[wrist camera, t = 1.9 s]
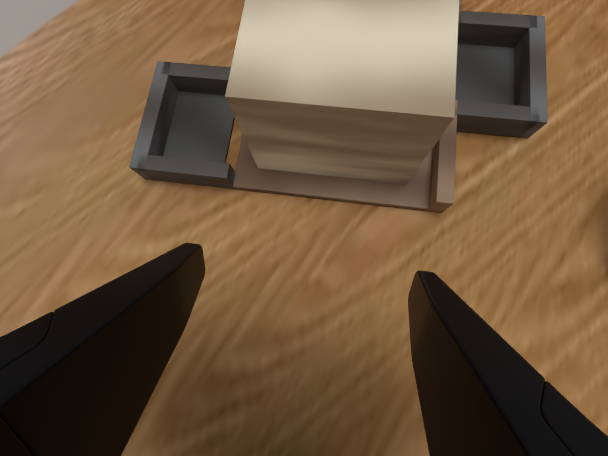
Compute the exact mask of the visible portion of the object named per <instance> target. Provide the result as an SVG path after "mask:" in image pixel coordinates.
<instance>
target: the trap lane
mask: <svg viewBox="0 0 608 456" xmlns="http://www.w3.org/2000/svg"><path fill="white" fill-rule="evenodd" d="M461 5H462V0H459V18H458V42H457V66H456V91H455V115H454V119H453V120H452V122H451V123H450V124H449V126H448V127H447V129H446V130H445V131H444V133H443V134H442V136H441V137H440V138H439V140H438V141H437V143H436V144H435V145H434V147H433V148H432V150H431V151H430V152H429V154H428V155H427V157H426V158H425V159H424V161H423V162H422V164H421V165H420V166H419V168H418V169H417V171H416V172H415V173H414V175H413V176H412V178H411V179H410V180H409V182H408V183H407V184H399V183H390V182H381V181H371V180H362V179H353V178H344V177H335V176H325V175H316V174H307V173H298V172H289V171H279V170H270V169H261V168H258V167H257V165H256V162H255V160H254V158H253V156H252V154H251V152H250V150H249V147H248V145H247V143H246V141H245V139H244V137H243V136H242V141H241V147H240V152H239V157H238V162H237V167H236V172H235V171H234V170H233V168H232V167H231V165H230V164H229V163H226V158H227V153H228V148H229V143H230V138H231V133H232V129H233V124H234V119H235V117H234V115H233V113H232V111H231V109H230V106H229V104H228V102H227V100H226V98H225V94H226V89H227V84H228V80H229V75H230V70H231V67H219V66H207V65H195V64H184V63H172V62H160V61H158V62H157V66H156V69H155V73H154V77H153V81H152V84H151V88H150V92H149V95H148V99H147V103H146V107H145V110H144V114H143V118H142V121H141V125H140V129H139V133H138V136H137V140H136V144H135V147H134V151H133V155H132V159H131V162H130V166H129V168H131V169H132V170H134V171H135V172H137V173H138V174H139V175H141V176H142V177H144V178H145V179H152V180H161V181H170V182H178V183H187V184H196V185H205V186H213V187H222V188H231V189H240V190H248V191H257V192H266V193H275V194H283V195H292V196H301V197H309V198H318V199H327V200H336V201H344V202H353V203H362V204H371V205H379V206H388V207H397V208H405V209H414V210H423V211H432V212H440V213H442V212H443V211H445V210H446V209H447V208H449V207H450V206H451V205H453V204H454V182H455V157H456V131H459V132H469V133H480V134H490V135H501V136H511V137H522V138H529V137H530V136H531V135H532V134H534V133H535V132H536V131H537V130H539V129H540V128H541V127H542V126H544V125H545V124H546V123H547V84H546V47H545V16H532V15H517V14H503V13H488V12H473V11H461Z"/></svg>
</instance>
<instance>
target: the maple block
mask: <svg viewBox="0 0 608 456" xmlns="http://www.w3.org/2000/svg"><path fill="white" fill-rule="evenodd" d="M458 18H459V0H245V4H244V9H243V14H242V18H241V23H240V28H239V33H238V37H237V42H236V47H235V51H234V56H233V61H232V66H231V70H230V75H229V80H228V84H227V89H226V94H225V98H226V100H227V102H228V104H229V106H230V109H231V111H232V113H233V115H234V117H235V119H236V121H237V124H238V126H239V128H240V130H241V132H242V134H243V137H244V139H245V141H246V143H247V145H248V147H249V150H250V152H251V154H252V156H253V158H254V160H255V162H256V165H257V167H258V168H261V169H270V170H279V171H289V172H298V173H307V174H316V175H325V176H335V177H344V178H353V179H362V180H371V181H381V182H390V183H399V184H407V183H408V182H409V180H410V179H411V178H412V176H413V175H414V173H415V172H416V171H417V169H418V168H419V166H420V165H421V164H422V162H423V161H424V159H425V158H426V157H427V155H428V154H429V152H430V151H431V150H432V148H433V147H434V145H435V144H436V143H437V141H438V140H439V138H440V137H441V136H442V134H443V133H444V131H445V130H446V129H447V127H448V126H449V124H450V123H451V122H452V120H453V119H454V115H455V91H456V66H457V42H458Z"/></svg>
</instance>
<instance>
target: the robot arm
mask: <svg viewBox="0 0 608 456" xmlns="http://www.w3.org/2000/svg"><path fill="white" fill-rule="evenodd" d="M204 276H205V263H204V256H203V249H202V247H201V245H199V244H193V243H184V244H182V245H180V246H178V247H176V248H175V249H173V250H171V251H169V252H167V253H165V254H163V255H161V256H159V257H157V258H155V259H153V260H151V261H149V262H147V263H145V264H143V265H141V266H140V267H138V268H136V269H134V270H132V271H130V272H128V273H126V274H124V275H122V276H120V277H118V278H116V279H114V280H112V281H110V282H108V283H106V284H104V285H103V286H101V287H99V288H97V289H95V290H93V291H91V292H89V293H87V294H85V295H83V296H81V297H79V298H77V299H75V300H73V301H71V302H69V303H67V304H65V305H64V306H62V307H60V308H58V309H56V310H55V311H54V312H50V313H48V314H46V315H44V316H42V317H40V318H38V319H36V320H34V321H32V322H30V323H28V324H26V325H24V326H22V327H20V328H18V329H16V330H14V331H12V332H10V333H8V334H6V335H4V336H2V337H0V456H121V454H122V452H123V450H124V448H125V446H126V444H127V443H128V441H129V439H130V437H131V435H132V433H133V431H134V429H135V427H136V425H137V423H138V421H139V419H140V417H141V415H142V413H143V411H144V409H145V407H146V405H147V403H148V401H149V399H150V397H151V395H152V393H153V391H154V389H155V387H156V385H157V383H158V381H159V379H160V377H161V375H162V373H163V371H164V369H165V367H166V365H167V363H168V361H169V359H170V357H171V355H172V353H173V351H174V349H175V347H176V345H177V343H178V341H179V339H180V337H181V335H182V333H183V331H184V329H185V327H186V325H187V322H188V320H189V317H190V314H191V312H192V309H193V306H194V303H195V301H196V298H197V295H198V292H199V290H200V287H201V284H202V281H203V279H204ZM408 309H409V325H410V341H411V354H412V362H413V368H414V373H415V379H416V384H417V390H418V395H419V400H420V406H421V411H422V416H423V422H424V427H425V432H426V438H427V443H428V449H429V454H430V456H608V436H607V435H605V434H604V433H603V432H602V431H601V430H600V429H599V428H597V427H596V426H595V425H594V424H593V423H592V422H591V421H590V420H588V419H587V418H586V417H585V416H584V415H583V414H582V413H581V412H580V411H579V410H578V409H577V408H575V407H574V406H573V405H572V404H571V403H570V402H569V401H568V400H567V399H566V398H565V397H564V396H563V395H562V394H560V393H559V392H558V391H557V390H556V389H555V388H554V387H553V386H552V385H551V384H550V383H549V382H547V381H546V382H545V379H544V377H543V376H542V375H540V374H539V373H538V372H537V371H536V370H535V369H534V368H533V367H532V366H531V365H530V364H529V363H528V362H527V361H526V360H525V359H524V358H523V357H522V356H521V355H520V354H519V353H517V352H516V351H515V350H514V349H513V348H512V347H511V346H510V345H509V344H508V343H507V342H506V341H505V340H504V339H503V338H502V337H501V336H500V335H499V334H498V333H497V332H496V331H495V330H493V329H492V328H491V327H490V326H489V325H488V324H487V323H486V322H485V321H484V320H483V319H482V318H481V317H480V316H479V315H478V314H477V313H476V312H475V311H474V310H473V309H472V308H470V307H469V306H468V305H467V304H466V303H465V302H464V301H463V300H462V299H461V298H460V297H459V296H458V295H457V294H456V293H455V292H454V291H453V290H452V289H451V288H450V287H449V286H447V285H446V284H445V283H444V282H443V281H442V280H441V279H440V278H439V277H438V276H437V275H436V274H435V273H433V272H427V271H417V272H416V274H415V276H414V279H413V282H412V286H411V289H410V292H409V297H408Z"/></svg>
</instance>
